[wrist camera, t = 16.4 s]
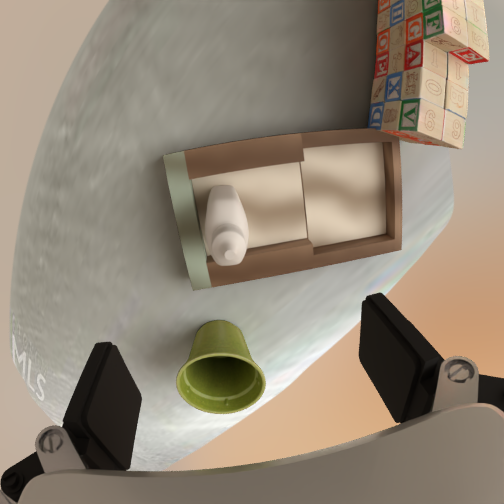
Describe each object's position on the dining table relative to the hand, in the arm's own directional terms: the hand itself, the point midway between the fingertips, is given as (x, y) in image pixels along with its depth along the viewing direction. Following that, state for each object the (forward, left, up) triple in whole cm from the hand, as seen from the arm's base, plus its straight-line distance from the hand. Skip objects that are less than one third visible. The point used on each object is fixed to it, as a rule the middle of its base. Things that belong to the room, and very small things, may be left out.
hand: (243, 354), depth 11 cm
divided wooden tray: (0, +7, -23) cm, 24 cm away
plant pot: (+16, -4, -23) cm, 28 cm away
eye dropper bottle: (0, 0, -22) cm, 22 cm away
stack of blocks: (-16, +22, -22) cm, 35 cm away
